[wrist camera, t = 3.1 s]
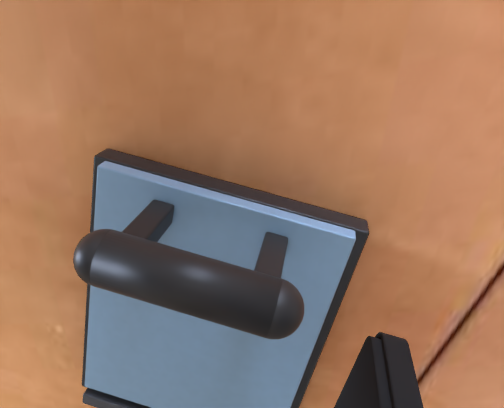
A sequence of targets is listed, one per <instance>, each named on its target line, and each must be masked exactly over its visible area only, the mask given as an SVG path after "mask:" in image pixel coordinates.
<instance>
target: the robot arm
mask: <svg viewBox="0 0 504 408" xmlns="http://www.w3.org/2000/svg"><path fill="white" fill-rule="evenodd" d="M334 408H423V404H422V400H421V395H420V391H419V387H418V383H417V379H416V374H415V370H414V366H413V362H412V357H411V353H410V349H409V345H408V342H407V341H406V340H405V339H403V338H399V337H396V336H392V335H389V334H385V333H382V332H379V333H378V334H377V335H376V337H371V336H368V337H367V338H366V340H365V342H364V344H363V347H362V349H361V351H360V353H359V355H358V357H357V359H356V362H355V364H354V366H353V368H352V370H351V372H350V375H349V377H348V379H347V381H346V383H345V385H344V387H343V390H342V392H341V394H340V396H339V398H338V400H337V402H336V405H335V407H334Z"/></svg>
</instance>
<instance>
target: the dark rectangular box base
mask: <svg viewBox="0 0 504 408" xmlns="http://www.w3.org/2000/svg"><path fill="white" fill-rule="evenodd" d="M104 161H108V162H111V163H115V164H119V165H122V166H126V167H129V168H133V169H136V170H140V171H144V172H147V173H151V174H154V175H158V176H161V177H165V178H169V179H172V180H176V181H179V182H183V183H186V184H190V185H194V186H197V187H201V188H204V189H208V190H211V191H215V192H219V193H222V194H226V195H229V196H233V197H236V198H240V199H244V200H247V201H251V202H254V203H258V204H261V205H265V206H269V207H272V208H276V209H279V210H283V211H286V212H290V213H294V214H297V215H301V216H304V217H308V218H311V219H315V220H319V221H322V222H326V223H329V224H333V225H336V226H340V227H343V228H347V229H351V230H354V231H355V235H356V241H355V243H354V246H353V248H352V251H351V253H350V256H349V259H348V261H347V264H346V266H345V269H344V271H343V274H342V277H341V279H340V282H339V284H338V287H337V289H336V292H335V295H334V297H333V300H332V302H331V305H330V307H329V310H328V312H327V315H326V318H325V320H324V323H323V325H322V328H321V330H320V333H319V336H318V338H317V341H316V343H315V346H314V348H313V351H312V354H311V356H310V359H309V361H308V364H307V366H306V369H305V371H304V374H303V377H302V379H301V382H300V384H299V387H298V389H297V392H296V395H295V397H294V400H293V402H292V405H291V407H290V408H299V406H300V404H301V401H302V399H303V396H304V394H305V391H306V389H307V386H308V384H309V381H310V379H311V376H312V374H313V371H314V369H315V367H316V364H317V362H318V359H319V357H320V354H321V352H322V349H323V347H324V344H325V342H326V339H327V337H328V334H329V332H330V329H331V327H332V324H333V322H334V319H335V317H336V314H337V312H338V310H339V307H340V305H341V302H342V300H343V297H344V295H345V292H346V290H347V287H348V285H349V282H350V280H351V277H352V275H353V272H354V270H355V267H356V265H357V262H358V260H359V257H360V255H361V253H362V250H363V248H364V245H365V243H366V240H367V238H368V235H369V229H368V223H367V221H366V220H364V219H360V218H356V217H353V216H349V215H346V214H342V213H338V212H335V211H331V210H328V209H324V208H320V207H317V206H313V205H310V204H306V203H302V202H299V201H295V200H292V199H288V198H284V197H281V196H277V195H274V194H270V193H266V192H263V191H259V190H256V189H252V188H248V187H245V186H241V185H238V184H234V183H230V182H227V181H223V180H220V179H216V178H212V177H209V176H205V175H202V174H198V173H194V172H191V171H187V170H184V169H180V168H176V167H173V166H169V165H166V164H162V163H158V162H155V161H151V160H148V159H144V158H141V157H137V156H133V155H130V154H126V153H123V152H119V151H115V150H112V149H105V150H104V151H102V152H100V153H99V154H97V155H95V157H94V172H93V190H92V209H91V227H90V233H91V232H93V231H94V216H95V199H96V182H97V167H98V165H100V164H101V163H103V162H104ZM89 302H90V285H89V284H87V301H86V320H85V338H84V357H83V375H82V386H84V387H85V371H86V354H87V336H88V319H89ZM83 403H85V404H88V405H91V406H94V407H97V408H151V407H148V406H145V405H141V404H138V403H135V402H132V401H129V400H126V399H123V398H119V397H116V396H113V395H110V394H107V393H104V392H101V391H97V390H94V389H91V388H88V387H87V389H86V391H85V393H84V394H83Z"/></svg>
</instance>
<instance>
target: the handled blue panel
mask: <svg viewBox="0 0 504 408" xmlns="http://www.w3.org/2000/svg"><path fill="white" fill-rule="evenodd" d="M355 241H356V235H355V231H354V230H351V229H347V228H343V227H340V226H336V225H333V224H329V223H326V222H322V221H319V220H315V219H311V218H308V217H304V216H301V215H297V214H294V213H290V212H286V211H283V210H279V209H276V208H272V207H269V206H265V205H261V204H258V203H254V202H251V201H247V200H244V199H240V198H236V197H233V196H229V195H226V194H222V193H219V192H215V191H211V190H208V189H204V188H201V187H197V186H194V185H190V184H186V183H183V182H179V181H176V180H172V179H169V178H165V177H161V176H158V175H154V174H151V173H147V172H144V171H140V170H136V169H133V168H129V167H126V166H122V165H119V164H115V163H111V162H108V161H104V162H103V163H101V164H100V165H98V167H97V182H96V199H95V216H94V231H93V232H91V233H89V234H87V235H86V236H85V237H83V238H82V239H81V241H80V242H79V243H78V245H77V246H76V249H75V251H74V258H73V263H74V267H75V270H76V272H77V274H78V276H79V277H80V278H81V279H82V280H83V281H85V282H86V283H87V284H89V285H90V302H89V319H88V336H87V354H86V371H85V387H88V388H91V389H94V390H97V391H101V392H104V393H107V394H110V395H113V396H116V397H119V398H123V399H126V400H129V401H132V402H135V403H138V404H141V405H145V406H148V407H151V408H290V407H291V405H292V402H293V400H294V397H295V395H296V392H297V389H298V387H299V384H300V382H301V379H302V377H303V374H304V371H305V369H306V366H307V364H308V361H309V359H310V356H311V354H312V351H313V348H314V346H315V343H316V341H317V338H318V336H319V333H320V330H321V328H322V325H323V323H324V320H325V318H326V315H327V312H328V310H329V307H330V305H331V302H332V300H333V297H334V295H335V292H336V289H337V287H338V284H339V282H340V279H341V277H342V274H343V271H344V269H345V266H346V264H347V261H348V259H349V256H350V253H351V251H352V248H353V246H354V243H355Z"/></svg>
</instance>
